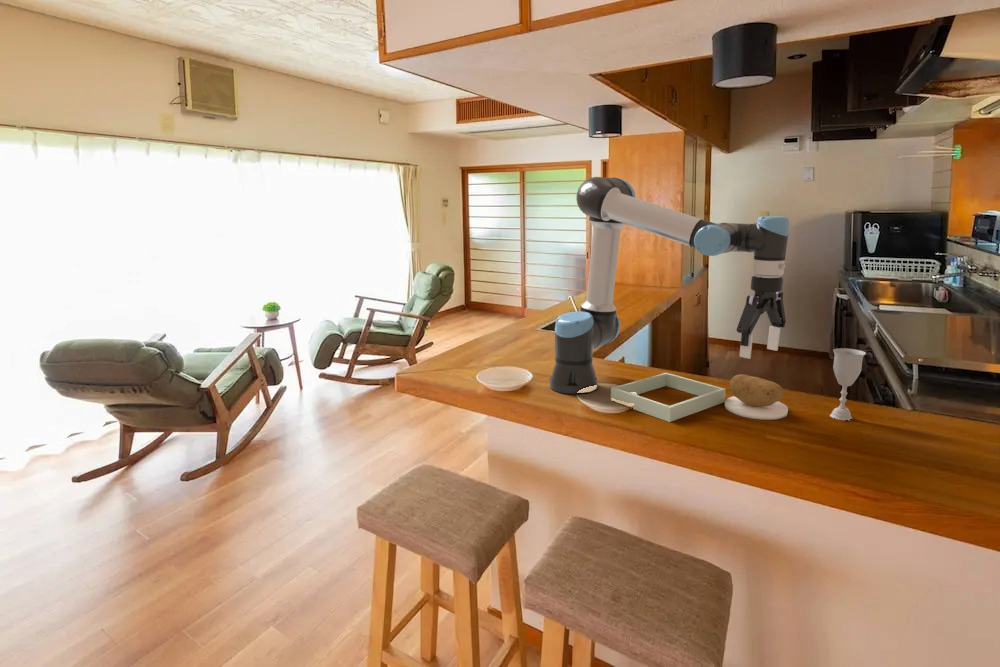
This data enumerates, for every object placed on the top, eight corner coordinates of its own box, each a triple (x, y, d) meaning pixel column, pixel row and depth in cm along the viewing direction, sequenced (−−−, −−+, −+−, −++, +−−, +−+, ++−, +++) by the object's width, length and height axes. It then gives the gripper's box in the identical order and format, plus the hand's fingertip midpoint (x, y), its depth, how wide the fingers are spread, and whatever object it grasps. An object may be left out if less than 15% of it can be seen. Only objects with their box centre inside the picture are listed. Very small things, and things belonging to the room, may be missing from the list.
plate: (712, 407, 155) (713, 403, 155) (744, 395, 164) (745, 392, 164) (767, 424, 142) (768, 420, 142) (799, 410, 151) (799, 406, 151)
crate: (610, 400, 162) (610, 388, 161) (665, 384, 176) (665, 372, 175) (669, 422, 145) (670, 407, 144) (724, 402, 159) (725, 388, 158)
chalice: (853, 413, 148) (861, 349, 144) (860, 423, 142) (869, 355, 138) (822, 411, 151) (830, 347, 147) (828, 420, 144) (836, 353, 140)
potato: (772, 416, 144) (775, 387, 143) (721, 402, 155) (723, 375, 153) (788, 407, 151) (791, 379, 149) (738, 395, 161) (740, 368, 159)
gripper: (754, 281, 135) (746, 364, 140) (805, 273, 149) (796, 349, 154) (727, 278, 141) (719, 357, 146) (778, 271, 155) (770, 343, 160)
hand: (758, 353), depth 150 cm, fingers open, 13 cm apart
